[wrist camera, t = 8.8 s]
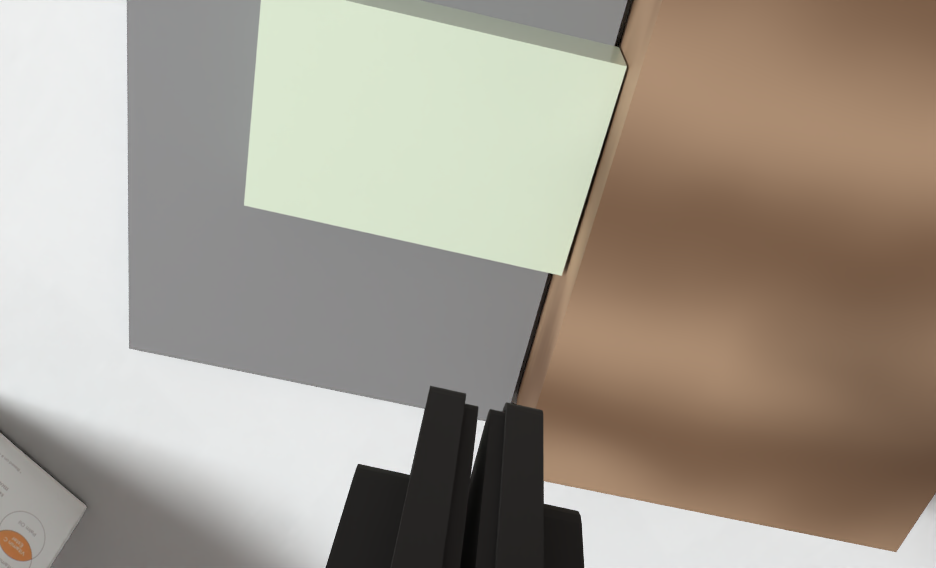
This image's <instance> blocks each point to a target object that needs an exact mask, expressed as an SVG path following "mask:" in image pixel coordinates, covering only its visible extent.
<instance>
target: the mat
mask: <svg viewBox="0 0 936 568" xmlns="http://www.w3.org/2000/svg"><path fill="white" fill-rule="evenodd" d="M421 1H425V2H430V3H434V4H438V5H442V6H447V7H451V8H455V9H459V10H464V11H468V12H472V13H476V14H481V15H485V16H489V17H493V18H498V19H502V20H506V21H510V22H515V23H519V24H523V25H527V26H531V27H536V28H540V29H544V30H548V31H553V32H557V33H561V34H565V35H570V36H574V37H578V38H582V39H587V40H591V41H595V42H599V43H604V44H608V45H612V46H614V45H615V42H616V39H617V35H618V32H619V28H620V25H621V21H622V18H623V14H624V11H625V8H626V4H627V1H628V0H421ZM260 5H261V0H127V86H128V239H129V348H130V349H135V350H139V351H144V352H149V353H154V354H159V355H164V356H169V357H174V358H179V359H184V360H188V361H193V362H198V363H203V364H208V365H213V366H218V367H223V368H228V369H233V370H237V371H242V372H247V373H252V374H257V375H262V376H267V377H272V378H277V379H282V380H286V381H291V382H296V383H301V384H306V385H311V386H316V387H321V388H326V389H331V390H335V391H340V392H345V393H350V394H355V395H360V396H365V397H370V398H375V399H380V400H385V401H389V402H394V403H399V404H404V405H409V406H414V407H419V408H424V409H425V406H426V402H427V397H428V393H429V388H430V386H434V387H439V388H443V389H448V390H453V391H457V392H462V393H466V400H465V404H470V405H475V406H478V407H479V408H478V417H477V419H478V420H483V421H486V419H487V415H488V412H489V410H490V409H493V410H498V411H503V408H504V405H505V403H506V402H508V403H511V401H512V397H513V394H514V390H515V387H516V384H517V380H518V377H519V373H520V370H521V366H522V363H523V359H524V356H525V352H526V349H527V346H528V342H529V339H530V335H531V332H532V328H533V325H534V321H535V318H536V315H537V311H538V308H539V304H540V301H541V297H542V294H543V290H544V287H545V284H546V280H547V277H548V273H546V272H542V271H537V270H533V269H528V268H524V267H519V266H515V265H510V264H506V263H501V262H497V261H492V260H488V259H483V258H479V257H474V256H470V255H465V254H461V253H456V252H452V251H447V250H443V249H438V248H434V247H429V246H425V245H420V244H416V243H411V242H407V241H402V240H398V239H393V238H389V237H384V236H380V235H375V234H371V233H366V232H362V231H357V230H353V229H348V228H344V227H339V226H335V225H330V224H326V223H321V222H316V221H312V220H307V219H303V218H298V217H294V216H289V215H285V214H280V213H276V212H271V211H267V210H262V209H258V208H253V207H249V206H244V198H245V186H246V174H247V162H248V150H249V138H250V126H251V114H252V102H253V90H254V78H255V65H256V53H257V41H258V29H259V17H260Z"/></svg>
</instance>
